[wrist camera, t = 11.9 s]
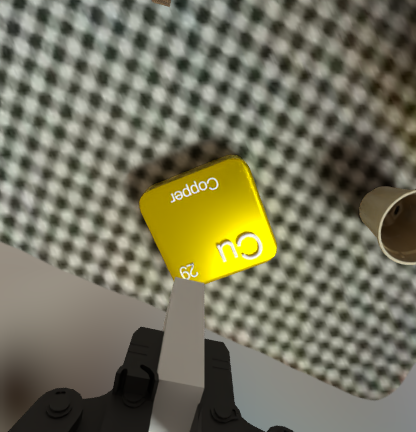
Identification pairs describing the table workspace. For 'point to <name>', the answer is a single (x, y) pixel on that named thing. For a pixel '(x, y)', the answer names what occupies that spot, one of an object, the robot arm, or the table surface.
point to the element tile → (209, 221)
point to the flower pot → (392, 221)
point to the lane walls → (163, 2)
